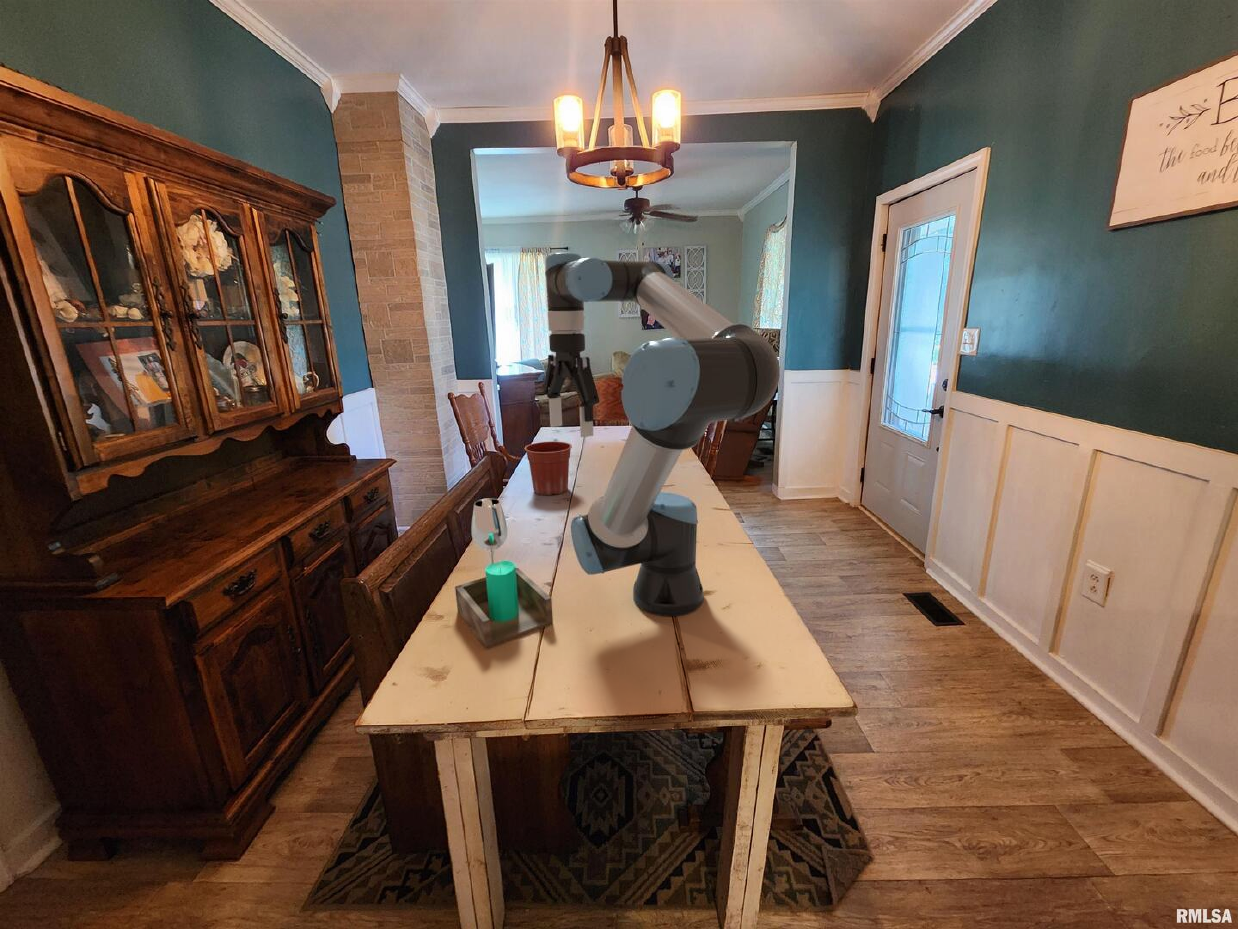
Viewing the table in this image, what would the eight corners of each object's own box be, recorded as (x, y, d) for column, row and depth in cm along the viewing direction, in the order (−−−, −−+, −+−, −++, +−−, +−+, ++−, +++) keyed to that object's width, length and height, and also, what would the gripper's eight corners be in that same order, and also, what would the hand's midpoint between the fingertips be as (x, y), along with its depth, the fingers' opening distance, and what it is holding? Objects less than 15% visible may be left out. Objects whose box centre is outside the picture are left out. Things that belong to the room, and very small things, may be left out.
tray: (552, 623, 103) (551, 598, 102) (485, 649, 95) (483, 621, 94) (519, 591, 116) (517, 567, 114) (457, 611, 108) (454, 586, 107)
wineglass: (477, 594, 114) (468, 510, 109) (476, 578, 122) (468, 498, 116) (512, 589, 116) (506, 506, 111) (510, 573, 124) (504, 495, 118)
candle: (520, 605, 109) (516, 553, 105) (516, 621, 103) (512, 566, 99) (492, 606, 108) (487, 554, 105) (486, 622, 103) (481, 567, 99)
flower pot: (524, 485, 189) (521, 443, 185) (568, 481, 194) (566, 439, 189) (531, 500, 174) (527, 454, 169) (578, 494, 179) (576, 449, 174)
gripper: (615, 332, 101) (616, 438, 107) (554, 331, 121) (558, 420, 126) (582, 333, 97) (585, 443, 103) (525, 332, 116) (531, 424, 122)
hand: (570, 431), depth 115 cm, fingers open, 13 cm apart
